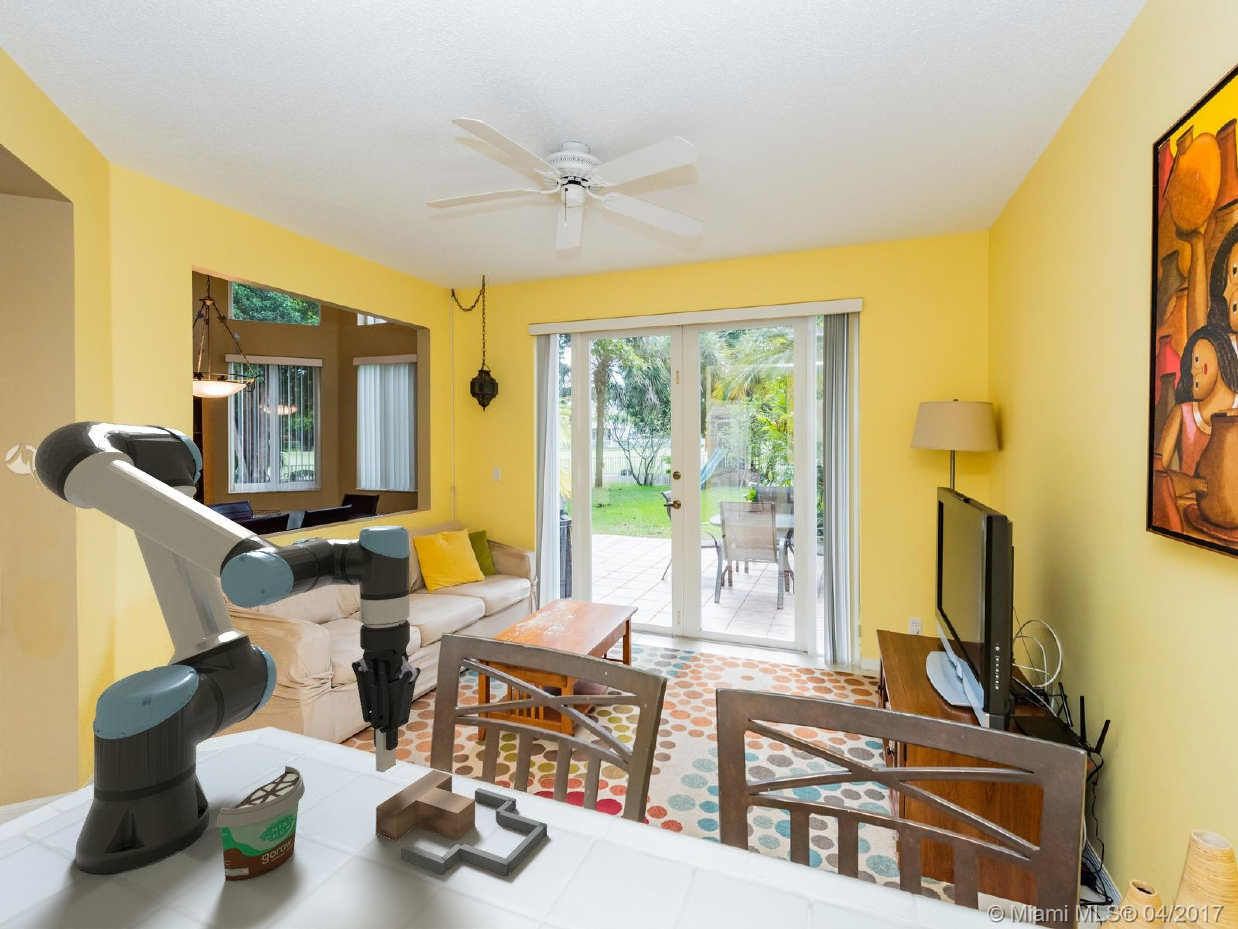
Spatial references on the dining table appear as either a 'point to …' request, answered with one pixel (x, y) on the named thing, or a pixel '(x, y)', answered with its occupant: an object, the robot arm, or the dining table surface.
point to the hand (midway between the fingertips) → (386, 767)
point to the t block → (426, 809)
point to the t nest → (479, 856)
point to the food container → (261, 828)
